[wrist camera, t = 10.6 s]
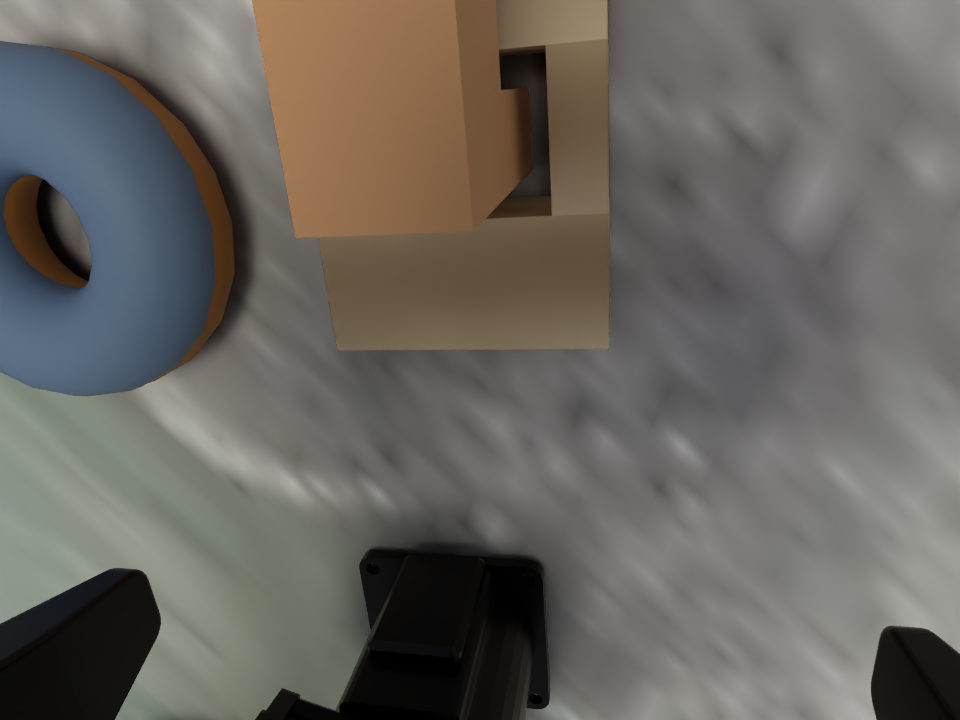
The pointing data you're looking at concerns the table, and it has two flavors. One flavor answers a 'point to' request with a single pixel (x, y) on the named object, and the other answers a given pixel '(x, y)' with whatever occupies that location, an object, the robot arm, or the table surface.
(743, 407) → the table surface
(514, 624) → the robot arm
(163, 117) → the doughnut
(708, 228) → the table surface
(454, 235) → the rail
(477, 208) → the tan wooden block
